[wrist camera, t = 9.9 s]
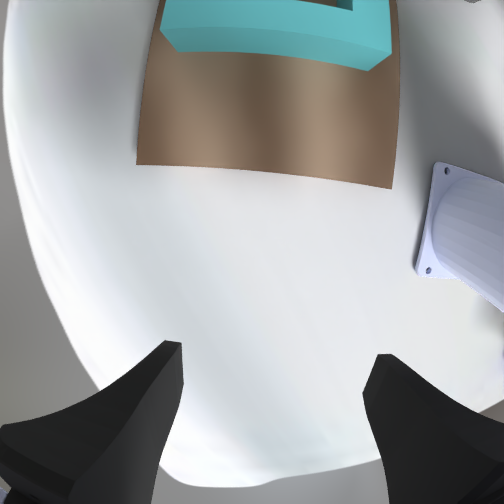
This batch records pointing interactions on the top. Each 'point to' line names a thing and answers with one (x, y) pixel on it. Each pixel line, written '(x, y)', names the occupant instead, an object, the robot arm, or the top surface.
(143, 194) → the top surface
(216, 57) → the peg board
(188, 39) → the loop
